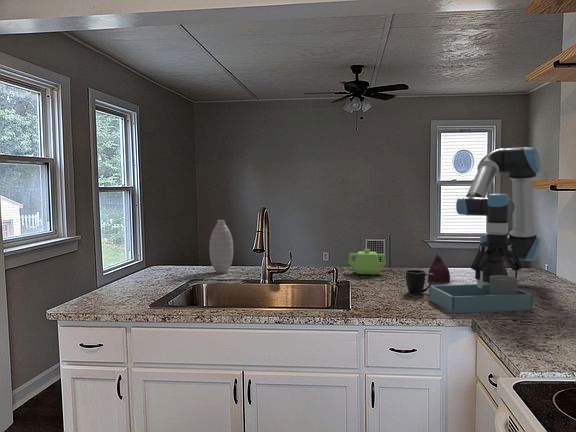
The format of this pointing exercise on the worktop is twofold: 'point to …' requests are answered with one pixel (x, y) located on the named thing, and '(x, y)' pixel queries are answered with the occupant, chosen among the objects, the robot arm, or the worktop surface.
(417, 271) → the mug
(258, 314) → the worktop surface
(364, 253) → the green rounded pot
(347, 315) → the worktop surface
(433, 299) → the tote
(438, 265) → the vegetable
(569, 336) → the worktop surface
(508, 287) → the coffee mug
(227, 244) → the vase
